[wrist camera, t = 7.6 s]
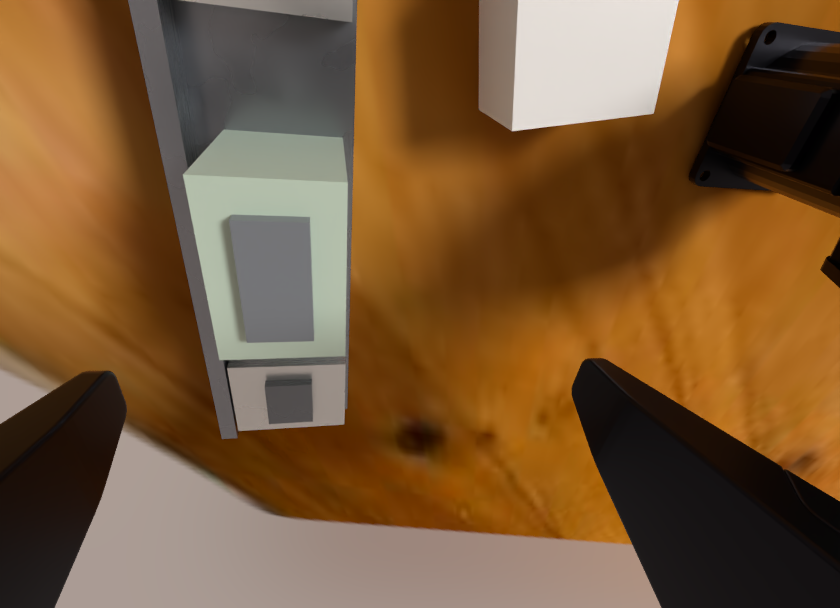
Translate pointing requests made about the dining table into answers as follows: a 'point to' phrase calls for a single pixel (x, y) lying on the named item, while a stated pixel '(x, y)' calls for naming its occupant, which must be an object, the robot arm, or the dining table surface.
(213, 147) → the module
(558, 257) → the dining table surface
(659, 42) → the block
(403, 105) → the dining table surface
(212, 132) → the rail
